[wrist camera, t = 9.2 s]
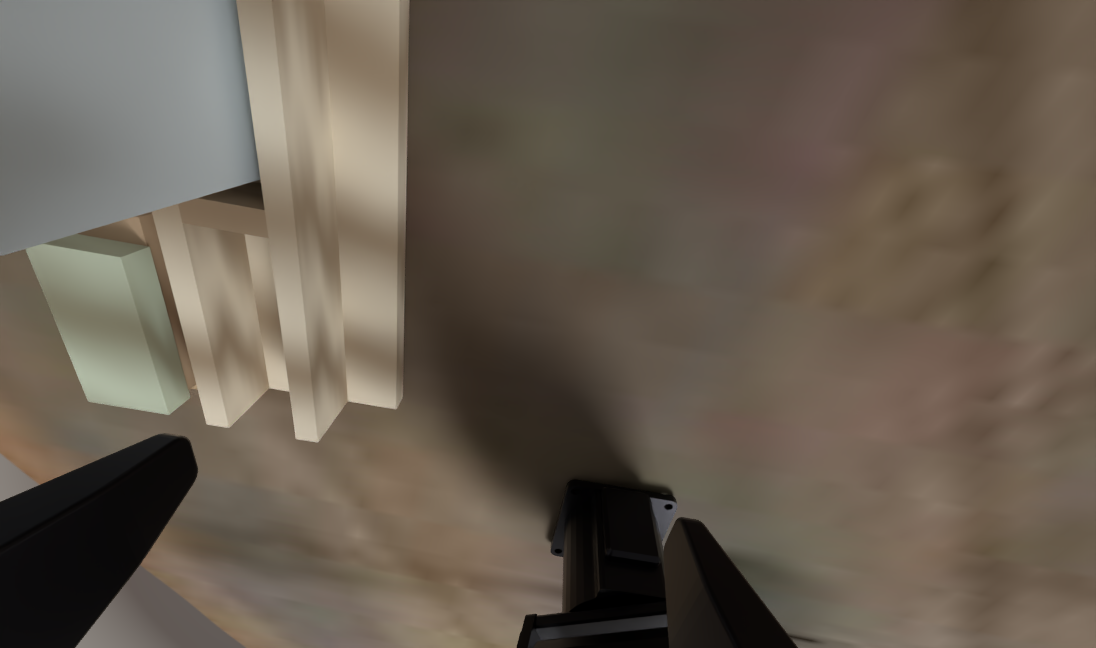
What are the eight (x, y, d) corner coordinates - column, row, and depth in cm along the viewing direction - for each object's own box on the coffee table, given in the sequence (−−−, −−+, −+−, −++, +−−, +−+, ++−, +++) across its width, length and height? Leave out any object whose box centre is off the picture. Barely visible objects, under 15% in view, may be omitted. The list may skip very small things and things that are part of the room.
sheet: (292, 169, 17) (3, 255, 9) (251, 162, 17) (-82, 240, 9) (265, -98, 14) (-298, -436, 5) (213, -109, 14) (-454, -469, 5)
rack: (402, 397, 24) (373, 451, 20) (137, 352, 23) (59, 400, 20) (410, -92, 14) (357, -151, 11) (-36, -183, 14) (-245, -276, 10)
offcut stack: (233, 378, 22) (176, 426, 19) (153, 364, 22) (83, 410, 19) (196, 201, 18) (116, 225, 15) (97, 183, 18) (-5, 203, 15)
